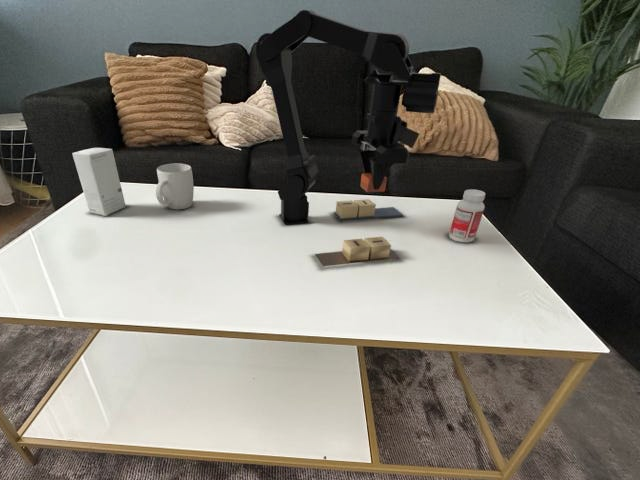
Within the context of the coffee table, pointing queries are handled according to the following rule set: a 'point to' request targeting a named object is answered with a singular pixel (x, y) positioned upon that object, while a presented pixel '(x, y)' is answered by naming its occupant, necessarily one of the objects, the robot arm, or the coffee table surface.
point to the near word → (359, 252)
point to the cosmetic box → (99, 180)
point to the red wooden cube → (371, 183)
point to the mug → (175, 185)
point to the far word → (363, 210)
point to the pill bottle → (467, 216)
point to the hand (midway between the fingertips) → (372, 186)
